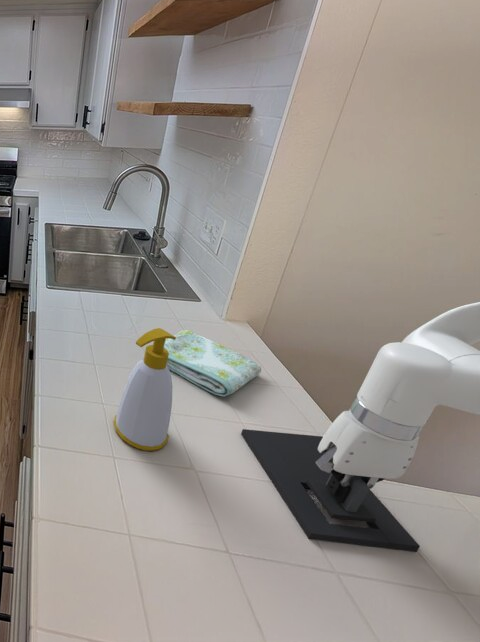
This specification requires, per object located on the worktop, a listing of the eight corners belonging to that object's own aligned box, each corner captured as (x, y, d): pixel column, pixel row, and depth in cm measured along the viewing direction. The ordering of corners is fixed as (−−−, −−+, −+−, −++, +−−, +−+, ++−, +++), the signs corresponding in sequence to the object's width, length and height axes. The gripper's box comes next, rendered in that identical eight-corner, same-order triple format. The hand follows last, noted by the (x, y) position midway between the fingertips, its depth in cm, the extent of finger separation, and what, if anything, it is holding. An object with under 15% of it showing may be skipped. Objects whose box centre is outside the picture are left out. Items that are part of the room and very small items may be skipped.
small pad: (344, 486, 71) (359, 459, 68) (374, 523, 65) (391, 494, 62) (305, 482, 72) (318, 455, 69) (331, 518, 66) (346, 490, 63)
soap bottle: (101, 421, 88) (117, 324, 78) (138, 406, 92) (158, 312, 82) (139, 460, 79) (163, 355, 69) (179, 441, 83) (207, 340, 73)
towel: (182, 338, 118) (186, 324, 116) (260, 376, 102) (266, 361, 100) (146, 358, 109) (149, 343, 107) (225, 404, 93) (231, 387, 91)
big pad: (320, 441, 83) (323, 436, 82) (416, 552, 63) (420, 546, 62) (240, 434, 85) (242, 429, 84) (308, 539, 65) (311, 533, 64)
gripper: (418, 404, 63) (373, 482, 70) (313, 395, 65) (280, 472, 72) (466, 441, 56) (411, 523, 63) (348, 430, 58) (307, 511, 65)
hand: (341, 495), depth 68 cm, fingers closed on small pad, 1 cm apart
